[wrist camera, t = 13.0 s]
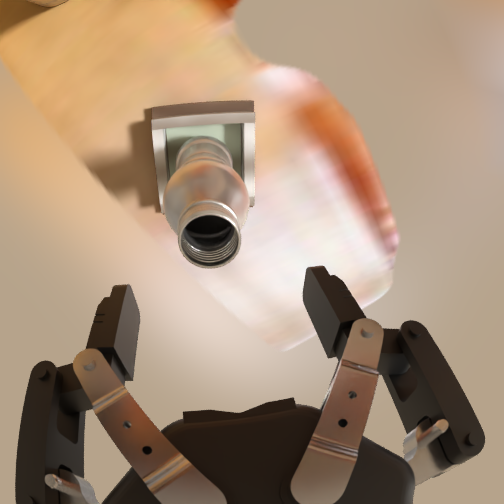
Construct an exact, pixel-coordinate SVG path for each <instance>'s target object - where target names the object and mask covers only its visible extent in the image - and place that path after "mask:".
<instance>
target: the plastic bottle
mask: <svg viewBox="0 0 504 504" xmlns="http://www.w3.org/2000/svg"><path fill="white" fill-rule="evenodd" d="M175 168H176V172H175V173H174V174H173V175H172V177H171V178H170V180H169V182H168V183H167V185H166V188H165V191H164V194H163V210H164V213H165V217H166V219H167V221H168V223H169V225H170V227H171V229H172V230H173V231H174V232H175V233H176V234H177V235H178V244H179V248H180V251H181V252H182V254H183V256H184V257H185V258H186V259H187V260H188V261H189V262H191V263H192V264H194V265H196V266H198V267H202V268H218V267H221V266H224V265H226V264H228V263H229V262H230V261H232V260H233V259H234V258H235V256H236V255H237V254H238V251H239V249H240V245H241V234H240V230H241V229H242V227H243V225H244V223H245V221H246V219H247V215H248V211H249V203H250V199H249V193H248V190H247V188H246V185H245V183H244V182H243V180H242V179H241V177H240V176H239V175H238V174H237V173H236V172H235V171H234V169H233V160H232V155H231V153H230V150H229V149H228V147H227V146H226V145H225V144H224V143H223V142H222V141H220V140H219V139H217V138H214V137H212V136H196V137H193V138H191V139H189V140H188V141H186V142H185V143H184V144H183V145H182V146H181V147H180V149H179V151H178V153H177V155H176V160H175Z"/></svg>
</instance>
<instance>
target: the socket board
mask: <svg viewBox="0 0 504 504" xmlns="http://www.w3.org/2000/svg"><path fill="white" fill-rule="evenodd" d="M151 124H152V137H153V148H154V158H155V167H156V176H157V184H158V192H159V199H160V206H161V213H163V215H164V214H165V213H164V210H163V194H164V191H165V188H166V185H167V183H168V182H169V180H170V178H171V177H172V175H173V174H174V173H175V172H176V168H175V160H176V155H177V153H178V151H179V149H180V147H181V146H182V145H183V144H184V143H185V142H186V141H188V140H189V139H191V138H193V137H196V136H212V137H214V138H217V139H219V140H220V141H222V142H223V143H224V144H225V145H226V146H227V147H228V149H229V150H230V153H231V155H232V160H233V169H234V171H235V172H236V173H237V174H238V175H239V176H240V177H241V179H242V180H243V182H244V183H245V185H246V188H247V190H248V193H249V199H250V203H249V207H253V206H254V198H255V112H254V101H215V102H199V103H187V104H177V105H168V106H159V107H153V108H152V120H151Z"/></svg>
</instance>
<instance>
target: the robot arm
mask: <svg viewBox="0 0 504 504" xmlns="http://www.w3.org/2000/svg"><path fill="white" fill-rule="evenodd" d="M27 1H30V2H33V3H35V4H38V5H41V6H43V7H53V6H56V5H59V4H61V3H63V2H66V1H67V0H27ZM303 302H304V305H305V308H306V310H307V312H308V314H309V316H310V319H311V321H312V323H313V325H314V328H315V330H316V332H317V334H318V337H319V339H320V341H321V343H322V345H323V348H324V350H325V352H326V354H327V357H328V358H333V357H337V358H338V361H339V362H338V364H337V367H336V369H335V372H334V375H333V378H332V380H331V383H330V385H329V388H328V391H327V393H326V396H325V398H324V400H323V402H322V405H321V407H320V409H317V408H315V407H312V406H307V405H301V404H295V401H294V398H288V399H283V400H278V401H272V402H267V403H265V404H262V405H260V406H257V407H254V408H252V409H249V410H247V411H244V412H241V413H234V412H224V411H215V410H201V411H187V412H183V419H180V420H178V421H175V422H173V423H171V424H170V425H168V426H167V427H165V428H164V429H163V430H161V431H160V430H159V429H158V428H157V427H156V426H155V425H154V423H153V422H152V421H151V420H150V419H149V417H148V416H147V415H146V414H145V413H144V411H143V410H142V409H141V408H140V407H139V405H138V404H137V403H136V401H135V400H134V399H133V397H132V396H131V395H130V393H129V392H128V391H127V389H126V388H125V387H124V386H125V381H133V375H134V365H135V356H136V348H137V340H138V332H139V324H140V313H139V309H138V306H137V303H136V300H135V297H134V294H133V291H132V288H131V286H130V285H115V286H114V287H113V289H112V292H111V295H110V297H105V298H104V299H103V300H102V301H101V303H100V304H99V305H98V308H97V311H96V314H95V315H96V316H95V318H94V321H93V324H92V328H91V331H90V335H89V338H88V342H87V346H86V349H85V350H83V351H81V352H80V353H79V354H78V355H77V356H76V357H75V359H74V361H73V363H71V364H68V365H64V366H61V367H56V366H55V365H54V364H53V363H52V362H50V361H42V362H39V363H38V364H37V365H36V366H34V368H33V369H32V371H31V375H30V379H29V383H28V387H27V391H26V396H25V401H24V406H23V412H22V418H21V424H20V431H19V439H18V448H17V459H16V482H15V486H16V487H15V488H16V489H15V492H16V496H15V497H16V504H99V503H98V501H97V499H96V497H95V493H94V490H93V487H92V486H91V484H90V483H89V482H88V481H87V480H85V479H84V429H85V412H86V410H90V409H93V410H94V412H95V414H96V416H97V417H98V419H99V421H100V422H101V424H102V425H103V427H104V428H105V430H106V431H107V433H108V434H109V436H110V437H111V439H112V440H113V442H114V443H115V445H116V446H117V447H118V449H119V450H120V451H121V453H122V454H123V455H124V457H125V458H126V459H127V461H128V462H129V463H130V465H131V466H132V467H131V468H130V470H129V471H128V472H127V473H126V474H125V476H124V477H123V478H122V479H121V481H120V482H119V483H118V484H117V485H116V487H115V488H114V489H113V490H112V491H111V493H110V494H109V495H108V496H107V498H105V500H104V501H103V502H102V504H413V495H414V490H415V486H417V485H418V484H421V483H423V482H424V481H426V480H428V479H430V478H433V477H436V476H439V475H441V474H443V473H445V472H447V471H449V470H451V469H453V468H455V467H456V466H458V465H460V464H462V463H464V462H465V461H467V460H469V459H471V458H472V457H474V456H476V455H477V454H479V453H480V452H481V450H482V449H483V447H484V443H485V435H484V432H483V429H482V427H481V425H480V423H479V421H478V419H477V417H476V415H475V413H474V411H473V409H472V407H471V405H470V403H469V401H468V399H467V397H466V395H465V393H464V391H463V389H462V388H461V386H460V384H459V382H458V380H457V379H456V377H455V375H454V373H453V371H452V370H451V368H450V366H449V365H448V363H447V361H446V360H445V358H444V356H443V355H442V353H441V351H440V350H439V348H438V346H437V345H436V344H435V342H434V340H433V338H432V337H431V335H430V334H429V332H428V331H427V329H426V328H425V327H424V326H423V325H422V324H421V323H419V322H417V321H411V320H410V321H406V322H404V323H403V324H402V325H401V328H400V329H384V328H382V326H381V325H380V324H379V323H378V322H376V321H374V320H372V319H368V318H366V316H365V315H364V313H363V311H362V310H361V308H360V307H359V305H358V304H357V302H356V300H355V299H354V297H352V294H351V293H350V291H349V290H348V288H347V286H346V285H345V283H344V282H343V281H342V280H341V279H339V278H338V277H337V276H335V275H331V276H330V274H329V273H328V271H327V270H326V268H325V267H324V266H315V267H308V268H307V269H306V275H305V281H304V288H303ZM379 375H382V376H383V379H384V381H385V383H386V385H387V388H388V390H389V392H390V394H391V397H392V399H393V401H394V404H395V406H396V408H397V410H398V413H399V415H400V418H401V420H402V423H403V425H404V428H405V430H406V433H407V436H406V437H405V439H404V443H403V447H404V450H403V452H404V454H405V455H404V459H403V458H402V457H400V456H398V455H396V454H394V453H392V452H391V451H389V450H387V449H385V448H383V447H381V446H380V445H378V444H376V443H374V442H373V441H371V440H369V439H368V438H366V437H364V436H363V433H364V429H365V426H366V423H367V419H368V416H369V413H370V409H371V405H372V401H373V398H374V394H375V390H376V386H377V382H378V377H379Z"/></svg>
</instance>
